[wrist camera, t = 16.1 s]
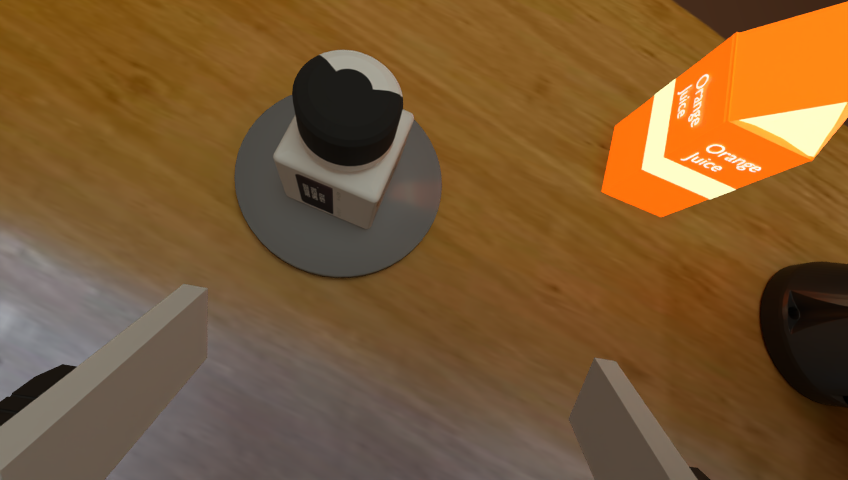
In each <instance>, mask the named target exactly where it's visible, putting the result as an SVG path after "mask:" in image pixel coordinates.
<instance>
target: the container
mask: <svg viewBox="0 0 848 480" xmlns="http://www.w3.org/2000/svg"><path fill="white" fill-rule="evenodd" d="M292 98H293V105H294V110H295V116H294V118H293V120H292V122H291V123H290V125H289V127H288V129H287V131H286V132H285V134H284V136H283V138H282V140H281V142H280V143H279V145H278V147H277V149H276V151H275V152H274V155H273V159H274V161H275V164H276V167H277V170H278V173H279V176H280V179H281V181H282V184H283V187H284V190H285V193H286V195H287V196H288V197H290V198H293V199H295V200H297V201H300V202H302V203H305V204H307V205H309V206H312V207H314V208H317V209H319V210H321V211H324V212H326V213H328V214H331V215H333V216H336V217H338V218H340V219H343V220H345V221H348V222H350V223H352V224H355V225H357V226H360V227H362V228H364V229H369V228H370V227H371V226H372V223H373V221H374V219H375V216H376V214H377V212H378V209H379V207H380V205H381V202H382V200H383V198H384V196H385V193H386V191H387V189H388V186H389V184H390V182H391V179H392V177H393V175H394V172H395V170H396V168H397V165H398V163H399V161H400V158H401V155H402V152H403V150H404V147H405V144H406V141H407V138H408V135H409V132H410V130H411V127H412V124H413V121H414V116H413V114H412V113H410V112H408V111H405V110H403V97H402V92H401V89H400V86H399V84H398V82H397V80H396V78H395V77H394V75H393V74H392V73H391V72H390V71H389V69H388V68H387V67H385V66H384V65H383V64H382V63H381V62H379V61H377V60H376V59H374V58H372V57H370V56H368V55H366V54H363V53H360V52H356V51H350V50H336V51H330V52H326V53H323V54H320V55H318V56H316V57H314V58H313V59H311V60H310V61H308V62H307V63H306V64H305V65H304V66H303V67H302V68H301V70H300V71H299V73H298V74H297V76H296V78H295V81H294V84H293V91H292Z"/></svg>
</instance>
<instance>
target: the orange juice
mask: <svg viewBox="0 0 848 480" xmlns="http://www.w3.org/2000/svg"><path fill="white" fill-rule="evenodd" d="M847 117H848V2H845V3H841V4H838V5H834V6H831V7H827V8H824V9H821V10H817V11H814V12H810V13H807V14H803V15H800V16H796V17H793V18H789V19H786V20H782V21H779V22H775V23H772V24H769V25H765V26H762V27H758V28H755V29H751V30H748V31H745V32H741V33H738V32H736V33H735V34H734V35H732V36H731V37H730V38H729V39H727V40H726V41H725V42H723V43H722V44H721V45H719V46H718V47H717V48H716V49H714V50H713V51H712V52H710V53H709V54H708V55H706V56H705V57H704V58H703V59H701V60H700V61H699V62H697V63H696V64H695V65H693V66H692V67H691V68H690V69H688V70H687V71H686V72H684V73H683V74H682V75H680V76H679V77H678V78H677V79H674V80H673V81H672V82H670V83H669V84H668V85H667V86H665V87H664V88H663V89H661V90H660V91H659V92H658V93H656V94H655V96H653V97H652V98H651V99H649V100H648V101H647V102H645V103H644V104H643V105H642V106H640V107H639V108H638V109H636V110H635V111H634V112H632V113H631V114H630V115H629V116H627V117H626V118H625V119H623V120H622V121H621V122H619V123H618V124H617V125H616V126H615V128H614V133H613V138H612V142H611V147H610V152H609V157H608V162H607V167H606V172H605V177H604V181H603V186H602V191H601V192H602V193H605V194H607V195H609V196H612V197H614V198H617V199H619V200H621V201H624V202H626V203H628V204H631V205H633V206H636V207H638V208H640V209H643V210H645V211H647V212H650V213H652V214H654V215H657V216H659V217H663V216H666V215H669V214H671V213H674V212H676V211H679V210H682V209H684V208H687V207H690V206H692V205H695V204H698V203H700V202H703V201H706V200H708V199H713V198H715V197H718V196H721V195H723V194H726V193H729V192H731V191H734V190H736V189H737V188H740V187H743V186H745V185H748V184H751V183H753V182H756V181H758V180H761V179H764V178H766V177H769V176H772V175H774V174H777V173H780V172H782V171H785V170H788V169H790V168H793V167H795V166H798V165H801V164H803V163H806V162H809V161H812V160H813V159H814V158H815V156H816V155H817V154H818V153H819V151H820V150H821V149H822V148H823V147H824V145H825V144H826V143H827V142H828V141H829V139H830V138H831V137H832V136H833V134H834V133H835V132H836V131H837V130H838V128H839V127H840V126H841V125H842V124H843V122H844V121H845V120H846V119H847Z"/></svg>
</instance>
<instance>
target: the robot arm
mask: <svg viewBox="0 0 848 480" xmlns="http://www.w3.org/2000/svg"><path fill="white" fill-rule="evenodd" d="M207 315H208V288H204V287H198V286H192V285H187V284H183V285H182V286H181V287H179V288H178V289H177V290H175V291H174V292H173V293H172V294H170V295H169V296H168V297H166V298H165V299H164V300H163V301H161V302H160V303H159V304H157V305H156V306H155V307H154V308H152V309H151V310H150V311H148V312H147V313H146V314H145V315H143V316H142V317H141V318H139V319H138V320H137V321H136V322H134V323H133V324H132V325H130V326H129V327H128V328H127V329H125V330H124V331H123V332H121V333H120V334H119V335H118V336H116V337H115V338H114V339H112V340H111V341H110V342H109V343H107V344H106V345H105V346H103V347H102V348H101V349H100V350H98V351H97V352H96V353H94V354H93V355H92V356H91V357H89V358H88V359H87V360H85V361H84V362H83V363H82V364H80V365H79V366H78V367H76V366H70V365H64V364H62V365H60V366H58V367H56V368H53V369H51V370H49V371H47V372H45V373H42V374H40V375H38V376H36V377H34V378H33V379H31V380H30V381H28V382H27V383H26V384H24V385H23V386H21V387H20V388H19V389H17V390H16V391H15V392H13V393H12V395H11V396H10V397H6V398H5V399H3V400H2V401H1V402H0V480H105V478H106V477H107V476H108V475H109V474H110V472H111V471H112V470H113V469H114V468H115V467H116V465H117V464H118V463H119V462H120V461H121V459H122V458H123V457H124V456H125V455H126V453H127V452H128V451H129V450H130V449H131V448H132V446H133V445H134V444H135V443H136V442H137V440H138V439H139V438H140V437H141V436H142V434H143V433H144V432H145V431H146V430H147V428H148V427H149V426H150V425H151V424H152V423H153V421H154V420H155V419H156V418H157V417H158V415H159V414H160V413H161V412H162V411H163V409H164V408H165V407H166V406H167V405H168V404H169V402H170V401H171V400H172V399H173V398H174V396H175V395H176V394H177V393H178V392H179V390H180V389H181V388H182V387H183V386H184V384H185V383H186V382H187V381H188V380H189V379H190V377H191V376H192V375H193V374H194V373H195V371H196V370H197V369H198V368H199V367H200V365H201V364H202V363H203V362H204V361H205V359H206V358H207ZM761 324H762V331H763V335H764V339H765V342H766V345H767V348H768V351H769V353H770V355H771V357H772V359H773V361H774V363H775V365H776V366H777V368H778V369H779V371H780V372H781V374H782V375H783V376H784V378H785V379H786V380H787V381H788V382H789V383H790V384H791V385H792V386H793V387H794V388H795V389H796V390H797V391H798V392H800V393H801V394H803V395H804V396H806V397H807V398H809V399H811V400H813V401H815V402H818V403H821V404H825V405H833V406H840V407H848V264H842V263H831V262H811V263H804V264H798V265H792V266H788V267H786V268H784V269H782V270H780V271H779V272H777V273H776V274H775V275H774V276H773V277H772V279H771V280H770V281H769V283H768V285H767V287H766V289H765V291H764V295H763V298H762V304H761ZM569 421H570V423H571V425H572V428H573V430H574V433H575V435H576V437H577V440H578V442H579V444H580V447H581V449H582V451H583V454H584V456H585V458H586V461H587V463H588V465H589V468H590V470H591V472H592V475H593V477H594V479H595V480H710V479H709V478H708V477H707V476H706V475H705V474H704V473H703V472H702V471H700V470H699V469H698V468H694V467H689V466H688V465H687V464H686V462H685V461H684V459H683V458H682V456H681V455H680V453H679V452H678V451H677V449H676V448H675V446H674V445H673V443H672V442H671V440H670V439H669V438H668V436H667V435H666V433H665V432H664V430H663V429H662V427H661V426H660V425H659V423H658V422H657V420H656V419H655V417H654V416H653V414H652V413H651V412H650V410H649V409H648V407H647V406H646V404H645V403H644V401H643V400H642V399H641V397H640V396H639V394H638V393H637V391H636V390H635V388H634V387H633V386H632V384H631V383H630V381H629V380H628V378H627V377H626V375H625V374H624V373H623V371H622V370H621V368H620V367H619V365H618V364H617V362H616V361H611V360H605V359H600V358H594V360H593V362H592V365H591V367H590V369H589V372H588V374H587V377H586V379H585V381H584V384H583V386H582V388H581V391H580V393H579V396H578V398H577V400H576V403H575V405H574V407H573V410H572V412H571V415H570V417H569Z"/></svg>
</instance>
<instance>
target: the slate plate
mask: <svg viewBox="0 0 848 480" xmlns="http://www.w3.org/2000/svg"><path fill="white" fill-rule="evenodd" d="M294 116H295V110H294V105H293V98H292V95H290V96H288V97H286V98H284V99H283V100H281V101H279V102H277V103H276V104H274V105H273V106H272V107H270V108H269V109H268V110H266V111H265V112H264V113H263V114H262V115H261V116H260V117H259V118H258V119H257V120H256V121H255V123H254V124H253V125H252V127H251V128H250V129H249V131H248V133H247V134H246V136H245V138H244V140H243V142H242V144H241V147H240V150H239V152H238V156H237V161H236V166H235V188H236V194H237V198H238V203H239V206H240V208H241V211H242V213H243V216H244V218H245V220H246V221H247V223H248V225H249V226H250V228H251V230H252V231H253V232H254V233H255V235H256V236H257V237H258V239H259V240H260V241H261V242H262V244H263V245H264V246H265V247H266V248H267V249H269V250H270V251H271V252H272V253H273V254H274V255H275V256H277V257H278V258H280V259H281V260H282V261H284V262H285V263H287V264H289V265H291V266H293V267H295V268H296V269H299V270H302V271H304V272H307V273H310V274H314V275H318V276H322V277H330V278H354V277H361V276H366V275H370V274H373V273H377V272H379V271H381V270H384V269H386V268H388V267H390V266H392V265H394V264H395V263H397V262H399V261H400V260H401V259H403V258H404V257H405V256H406V255H408V254H409V253H410V252H411V251H412V250H413V249H414V248H415V247H416V246H417V245H418V244H419V242H420V241H421V240H422V239H423V237H424V236H425V235H426V233H427V232H428V230H429V229H430V227H431V225H432V223H433V221H434V219H435V216H436V213H437V211H438V208H439V203H440V198H441V188H442V182H441V171H440V166H439V161H438V158H437V155H436V152H435V150H434V148H433V146H432V144H431V142H430V140H429V138H428V137H427V135H426V133H425V132H424V130H423V129H422V128H421V127H420V126H419V124H418V123H417V122H416V121H415V120H414V121H413V124H412V127H411V130H410V132H409V135H408V138H407V141H406V144H405V147H404V150H403V152H402V155H401V158H400V161H399V163H398V165H397V168H396V170H395V172H394V175H393V177H392V179H391V182H390V184H389V186H388V189H387V191H386V193H385V196H384V198H383V200H382V202H381V205H380V207H379V209H378V212H377V214H376V216H375V219H374V221H373V223H372V226H371V227H370V228H369V229H364V228H362V227H360V226H357V225H355V224H352V223H350V222H348V221H345V220H343V219H340V218H338V217H336V216H333V215H331V214H328V213H326V212H324V211H321V210H319V209H317V208H314V207H312V206H309V205H307V204H305V203H302V202H300V201H297V200H295V199H293V198H290V197H288V196H287V195H286V193H285V190H284V187H283V184H282V181H281V179H280V176H279V173H278V170H277V167H276V164H275V161H274V159H273V155H274V152H275V151H276V149H277V147H278V145H279V143H280V142H281V140H282V138H283V136H284V134H285V132H286V131H287V129H288V127H289V125H290V123H291V122H292V120H293V118H294Z"/></svg>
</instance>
